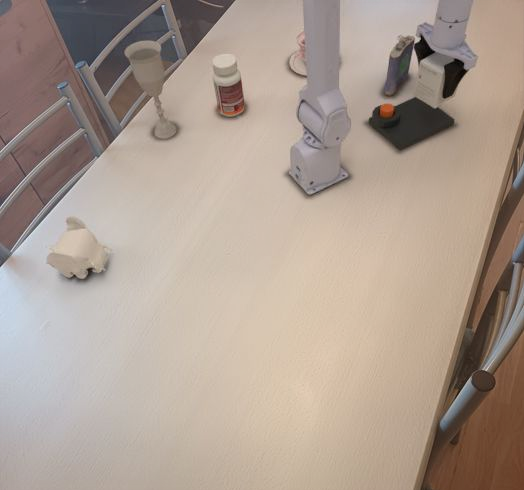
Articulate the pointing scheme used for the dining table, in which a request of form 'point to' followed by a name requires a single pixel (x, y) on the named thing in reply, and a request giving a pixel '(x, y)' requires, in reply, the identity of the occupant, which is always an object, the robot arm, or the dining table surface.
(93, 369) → the dining table surface
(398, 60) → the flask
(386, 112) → the button
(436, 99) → the product box
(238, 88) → the pill bottle
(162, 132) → the chalice
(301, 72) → the teacup
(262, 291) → the dining table surface
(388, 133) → the scale
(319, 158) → the robot arm
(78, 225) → the elephant figurine
